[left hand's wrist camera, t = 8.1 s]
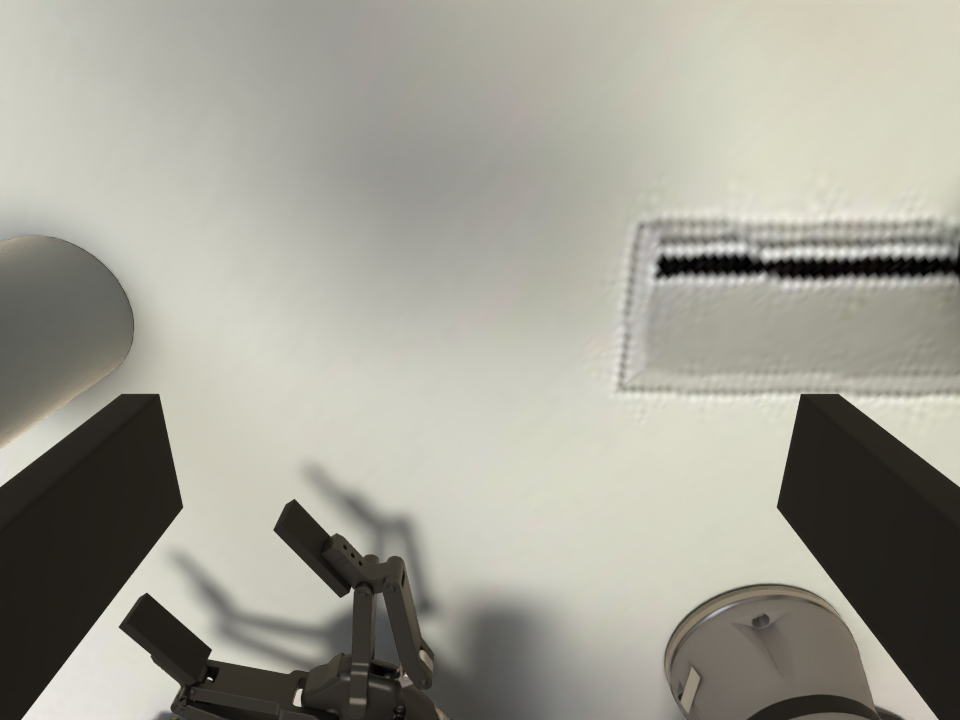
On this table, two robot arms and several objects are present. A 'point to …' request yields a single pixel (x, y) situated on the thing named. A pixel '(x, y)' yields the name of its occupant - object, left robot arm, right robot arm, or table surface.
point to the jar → (55, 328)
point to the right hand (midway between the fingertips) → (205, 562)
